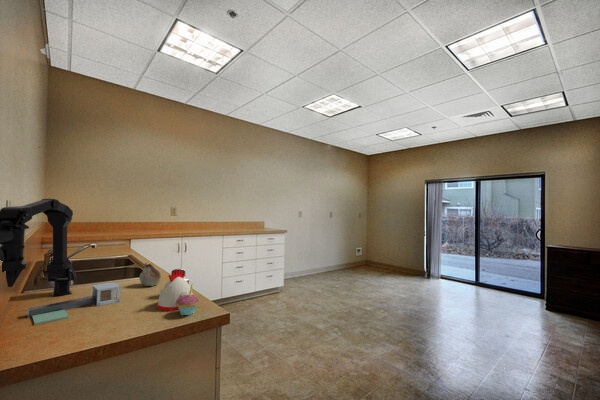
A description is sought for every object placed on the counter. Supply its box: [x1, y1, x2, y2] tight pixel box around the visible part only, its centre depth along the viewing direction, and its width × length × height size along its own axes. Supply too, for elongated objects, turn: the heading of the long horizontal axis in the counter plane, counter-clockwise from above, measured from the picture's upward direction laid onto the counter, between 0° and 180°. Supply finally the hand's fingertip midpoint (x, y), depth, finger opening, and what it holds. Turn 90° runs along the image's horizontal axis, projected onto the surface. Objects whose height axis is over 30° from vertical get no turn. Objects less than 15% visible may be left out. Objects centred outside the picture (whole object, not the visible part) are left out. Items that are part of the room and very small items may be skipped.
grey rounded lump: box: [138, 262, 162, 287], centre depth 145 cm, size 10×9×12 cm
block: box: [96, 290, 112, 302], centre depth 119 cm, size 4×4×5 cm
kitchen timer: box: [156, 268, 194, 312], centre depth 118 cm, size 14×14×15 cm
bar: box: [26, 295, 96, 319], centre depth 109 cm, size 3×20×3 cm, turn 144°
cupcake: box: [175, 283, 200, 316], centre depth 109 cm, size 9×8×12 cm
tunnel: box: [91, 282, 121, 307], centre depth 119 cm, size 8×8×7 cm
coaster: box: [32, 310, 70, 326], centre depth 101 cm, size 9×9×1 cm
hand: (10, 286), depth 98 cm, fingers closed
